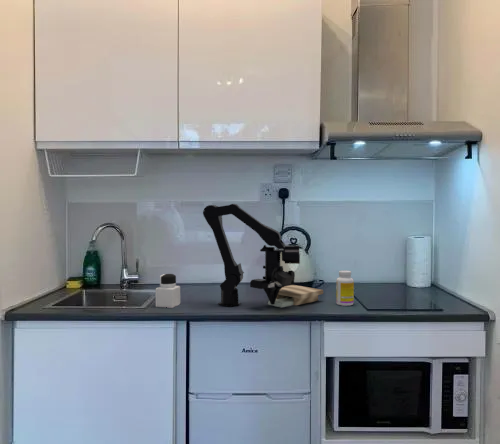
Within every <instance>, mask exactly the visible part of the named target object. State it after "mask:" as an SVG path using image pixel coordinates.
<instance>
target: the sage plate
mask: <svg viewBox="0 0 500 444" xmlns="http://www.w3.org/2000/svg"><path fill="white" fill-rule="evenodd" d="M267 305H268V306H272V307H273V306H274V307H276V308H285V307H290V306H295V305H294V297H286V298H281V299H276V301H275V304H271V303H270V301H269V300H268V303H267Z"/></svg>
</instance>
